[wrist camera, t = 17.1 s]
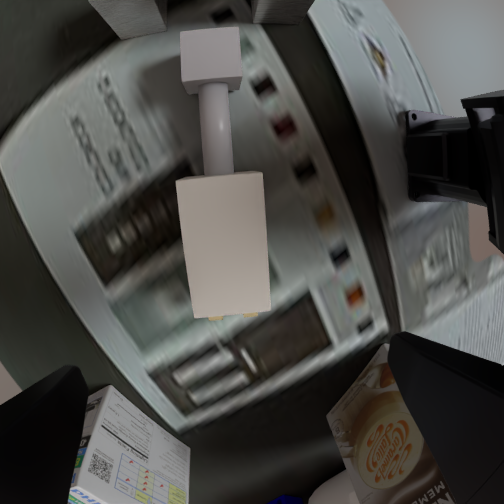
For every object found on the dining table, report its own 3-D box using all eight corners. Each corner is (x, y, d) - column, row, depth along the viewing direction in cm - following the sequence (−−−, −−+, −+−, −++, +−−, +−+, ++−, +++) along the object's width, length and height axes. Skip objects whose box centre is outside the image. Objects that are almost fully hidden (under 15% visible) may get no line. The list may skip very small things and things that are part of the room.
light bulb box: (69, 404, 22) (31, 490, 11) (110, 380, 21) (71, 484, 11) (147, 463, 25) (136, 546, 15) (194, 447, 24) (192, 542, 14)
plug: (244, 46, 15) (250, 18, 11) (262, 296, 20) (271, 327, 16) (177, 51, 15) (167, 25, 11) (201, 302, 19) (197, 334, 16)
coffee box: (380, 340, 22) (494, 487, 7) (425, 355, 24) (524, 470, 8) (322, 417, 24) (379, 564, 9) (370, 423, 26) (432, 544, 10)
